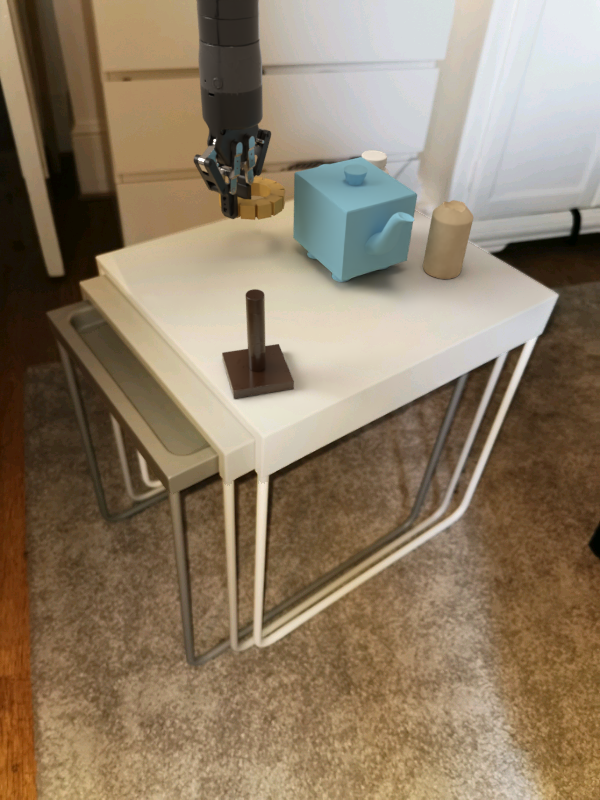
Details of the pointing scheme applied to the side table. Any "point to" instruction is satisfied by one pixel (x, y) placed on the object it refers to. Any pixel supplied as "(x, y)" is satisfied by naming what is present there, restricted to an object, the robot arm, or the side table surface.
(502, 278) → the side table surface
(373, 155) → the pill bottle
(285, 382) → the post
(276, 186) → the ring
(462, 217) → the candle
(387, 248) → the teapot
